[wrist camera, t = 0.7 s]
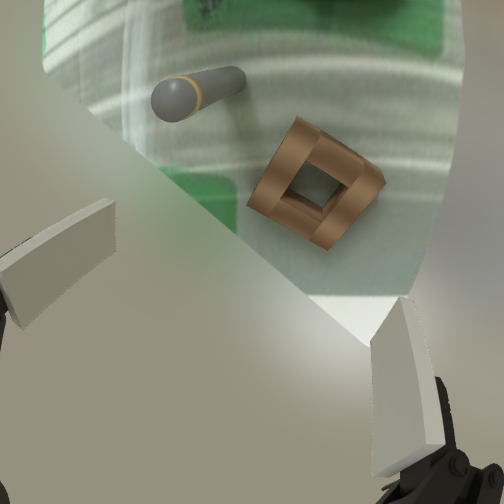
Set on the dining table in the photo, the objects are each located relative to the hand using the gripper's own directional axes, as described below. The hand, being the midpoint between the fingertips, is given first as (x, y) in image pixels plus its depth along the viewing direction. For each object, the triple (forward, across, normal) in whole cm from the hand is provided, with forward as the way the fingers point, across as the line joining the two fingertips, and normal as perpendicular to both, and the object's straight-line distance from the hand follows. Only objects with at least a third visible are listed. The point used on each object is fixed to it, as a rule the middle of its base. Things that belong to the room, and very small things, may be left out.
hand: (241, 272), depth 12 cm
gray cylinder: (+26, -11, +9) cm, 29 cm away
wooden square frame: (+29, +2, -2) cm, 29 cm away
